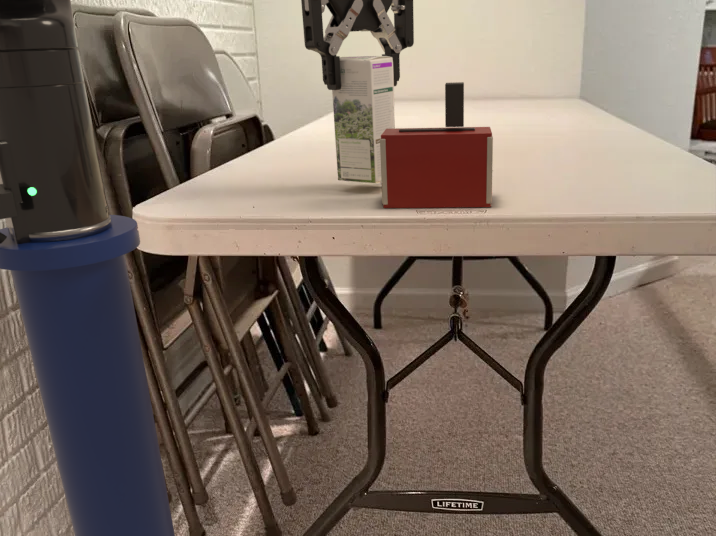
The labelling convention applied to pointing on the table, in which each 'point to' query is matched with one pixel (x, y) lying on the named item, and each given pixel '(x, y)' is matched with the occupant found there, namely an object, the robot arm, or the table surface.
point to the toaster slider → (454, 104)
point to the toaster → (436, 167)
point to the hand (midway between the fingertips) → (362, 87)
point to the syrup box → (362, 116)
